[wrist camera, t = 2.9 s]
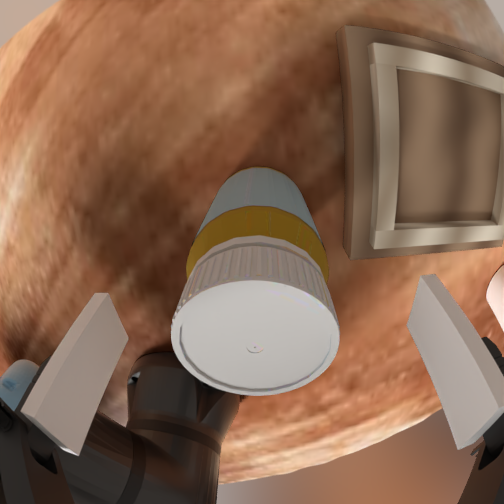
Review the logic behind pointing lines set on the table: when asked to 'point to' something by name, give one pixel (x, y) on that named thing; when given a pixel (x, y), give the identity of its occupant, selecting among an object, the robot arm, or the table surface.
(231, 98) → the table surface
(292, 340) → the bottle
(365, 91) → the plinth
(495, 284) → the cup
